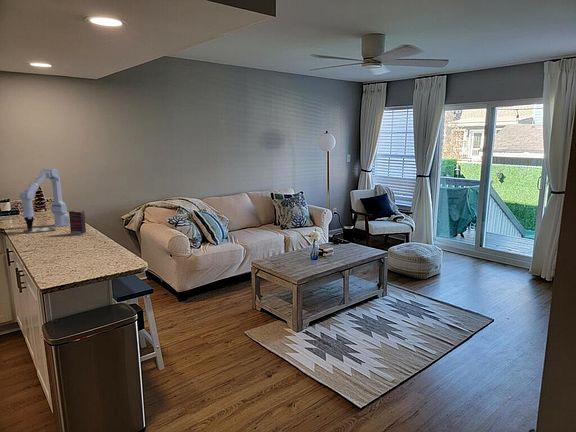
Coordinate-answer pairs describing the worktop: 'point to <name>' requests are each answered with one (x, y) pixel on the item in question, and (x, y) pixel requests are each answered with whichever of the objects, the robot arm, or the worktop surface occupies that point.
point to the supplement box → (77, 222)
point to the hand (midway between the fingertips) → (29, 227)
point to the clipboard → (40, 230)
